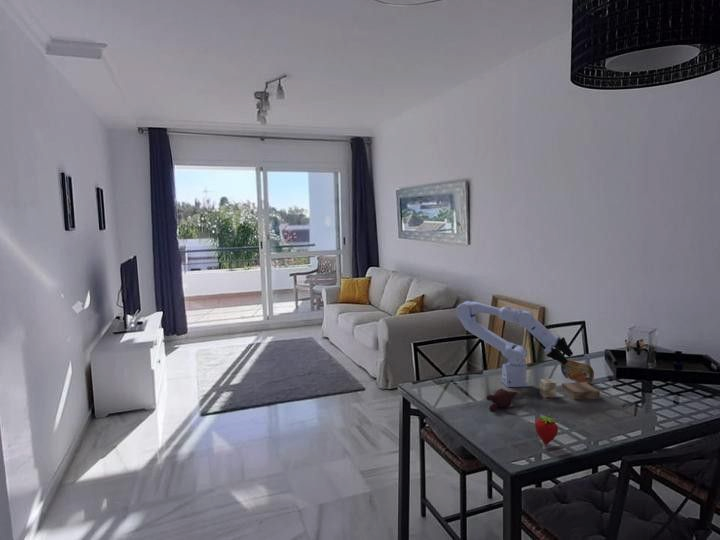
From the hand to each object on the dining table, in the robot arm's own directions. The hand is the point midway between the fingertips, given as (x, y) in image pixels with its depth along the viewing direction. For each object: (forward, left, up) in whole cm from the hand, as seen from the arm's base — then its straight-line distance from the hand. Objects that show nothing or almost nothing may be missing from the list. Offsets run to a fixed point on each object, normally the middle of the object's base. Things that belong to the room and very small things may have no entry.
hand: (568, 359), depth 186 cm
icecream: (-31, -13, -14) cm, 36 cm away
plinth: (+3, -4, -13) cm, 14 cm away
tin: (+10, +12, -14) cm, 21 cm away
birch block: (-10, -4, -13) cm, 17 cm away
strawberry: (-28, -43, -14) cm, 53 cm away
